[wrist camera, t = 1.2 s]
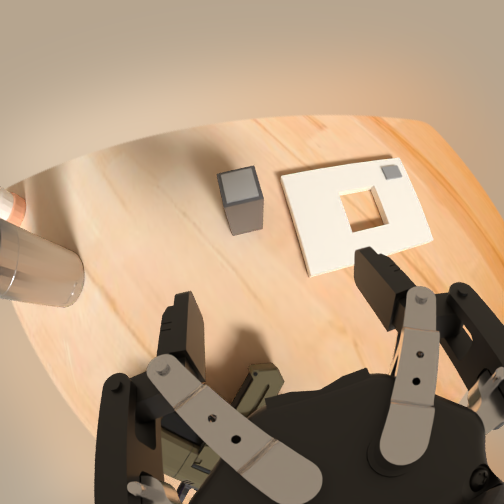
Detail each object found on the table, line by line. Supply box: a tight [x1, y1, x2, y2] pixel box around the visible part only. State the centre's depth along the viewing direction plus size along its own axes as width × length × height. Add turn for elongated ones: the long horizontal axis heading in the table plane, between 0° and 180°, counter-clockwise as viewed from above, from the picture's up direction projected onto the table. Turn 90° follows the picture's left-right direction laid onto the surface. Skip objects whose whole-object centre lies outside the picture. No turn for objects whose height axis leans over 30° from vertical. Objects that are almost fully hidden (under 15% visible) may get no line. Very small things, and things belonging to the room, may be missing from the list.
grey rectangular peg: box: [217, 166, 264, 236], centre depth 31 cm, size 4×4×10 cm
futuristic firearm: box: [161, 363, 284, 503], centre depth 26 cm, size 7×31×25 cm
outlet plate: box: [280, 158, 433, 278], centre depth 35 cm, size 20×14×2 cm
